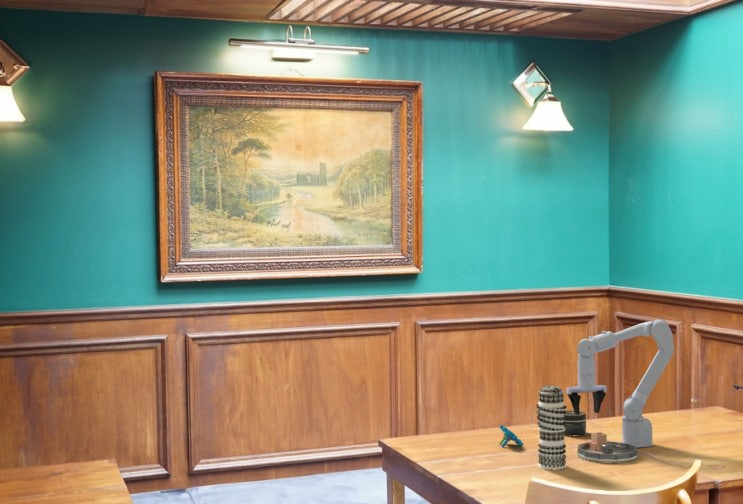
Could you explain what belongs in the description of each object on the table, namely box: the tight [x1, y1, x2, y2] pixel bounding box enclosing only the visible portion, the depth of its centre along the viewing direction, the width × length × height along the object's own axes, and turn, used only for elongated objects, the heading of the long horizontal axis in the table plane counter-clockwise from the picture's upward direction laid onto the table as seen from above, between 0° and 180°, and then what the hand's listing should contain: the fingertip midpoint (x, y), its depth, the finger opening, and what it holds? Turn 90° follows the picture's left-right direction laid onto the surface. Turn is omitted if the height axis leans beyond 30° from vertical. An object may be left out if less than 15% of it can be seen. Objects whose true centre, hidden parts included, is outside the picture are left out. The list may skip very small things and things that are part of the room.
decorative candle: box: [535, 385, 567, 471], centre depth 293 cm, size 9×9×25 cm
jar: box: [563, 410, 587, 437], centre depth 340 cm, size 10×10×8 cm
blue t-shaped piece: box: [499, 424, 524, 448], centre depth 322 cm, size 11×6×10 cm
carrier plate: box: [577, 440, 639, 464], centre depth 306 cm, size 19×19×5 cm
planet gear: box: [590, 432, 608, 451], centre depth 311 cm, size 5×5×5 cm
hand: (586, 413), depth 324 cm, fingers open, 7 cm apart
